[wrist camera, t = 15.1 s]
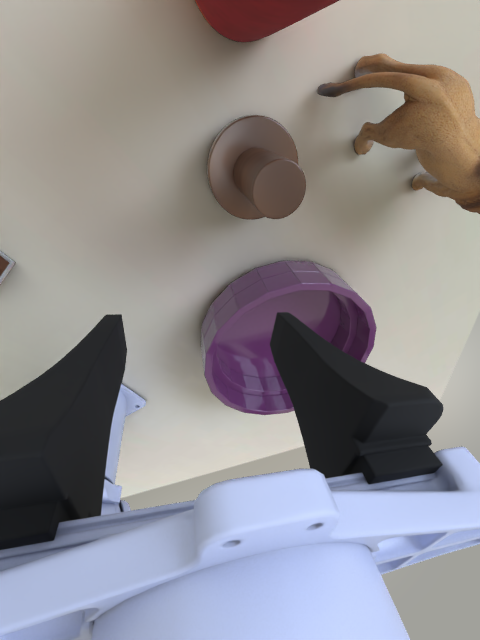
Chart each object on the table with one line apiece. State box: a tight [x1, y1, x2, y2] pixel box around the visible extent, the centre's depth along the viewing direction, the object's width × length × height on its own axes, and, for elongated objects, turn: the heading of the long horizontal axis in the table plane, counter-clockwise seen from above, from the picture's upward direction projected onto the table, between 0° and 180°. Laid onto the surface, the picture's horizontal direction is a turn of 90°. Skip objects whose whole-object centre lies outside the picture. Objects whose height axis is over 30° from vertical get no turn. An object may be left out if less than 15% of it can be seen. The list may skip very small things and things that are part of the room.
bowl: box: [201, 261, 376, 415], centre depth 26 cm, size 15×15×4 cm
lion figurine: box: [317, 54, 480, 214], centre depth 16 cm, size 15×5×9 cm, turn 72°
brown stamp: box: [207, 115, 306, 219], centre depth 16 cm, size 6×6×7 cm
